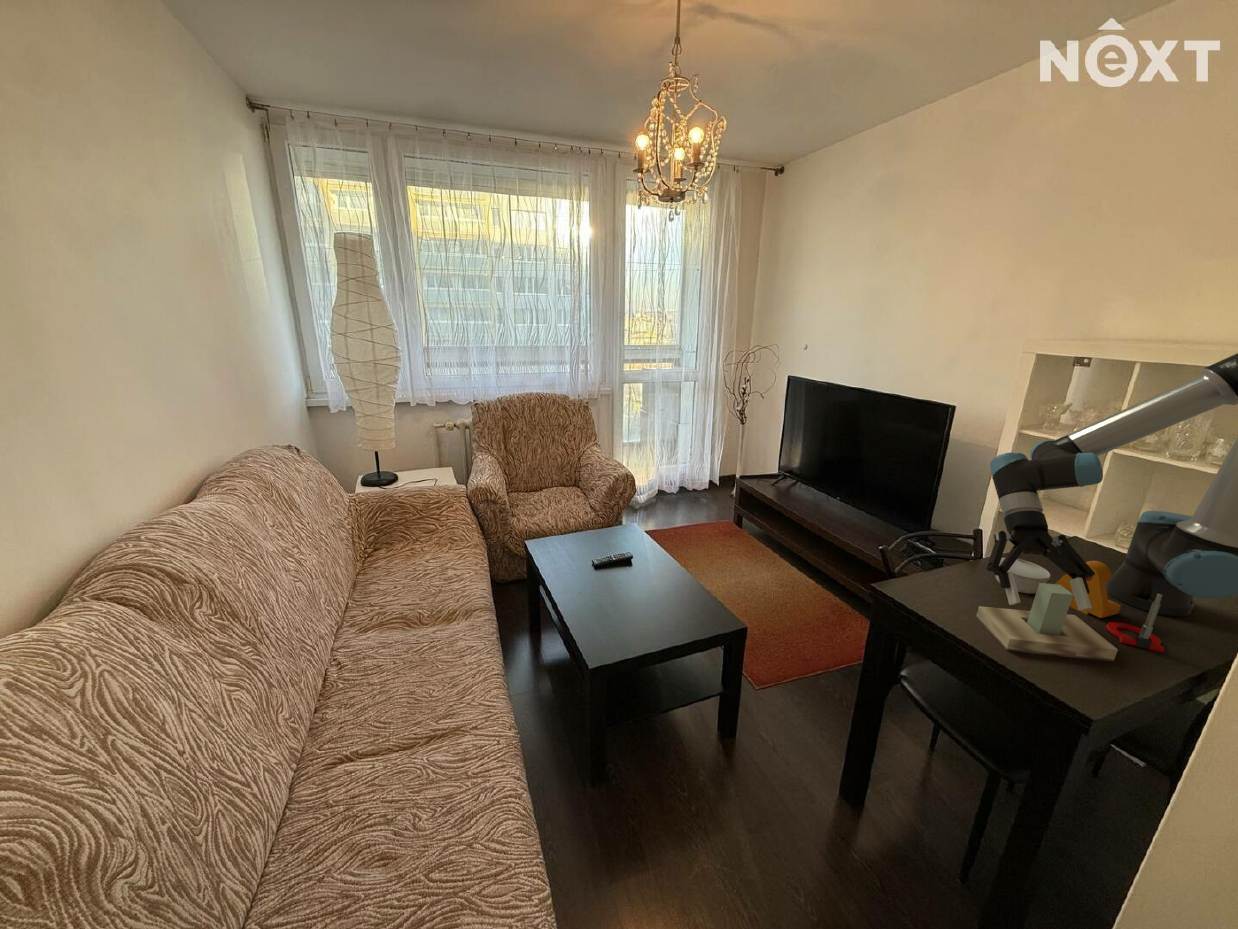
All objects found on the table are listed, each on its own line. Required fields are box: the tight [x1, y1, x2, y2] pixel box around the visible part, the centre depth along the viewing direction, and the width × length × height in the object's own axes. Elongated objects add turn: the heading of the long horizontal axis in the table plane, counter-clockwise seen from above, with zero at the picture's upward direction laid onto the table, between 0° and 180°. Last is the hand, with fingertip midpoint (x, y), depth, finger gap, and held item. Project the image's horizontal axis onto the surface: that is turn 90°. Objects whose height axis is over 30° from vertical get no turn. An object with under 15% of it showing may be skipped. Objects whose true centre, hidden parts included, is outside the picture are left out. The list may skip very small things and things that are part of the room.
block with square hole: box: [975, 605, 1119, 663], centre depth 106 cm, size 20×12×3 cm, turn 81°
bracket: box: [1054, 560, 1122, 619], centre depth 117 cm, size 11×7×12 cm, turn 18°
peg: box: [1027, 582, 1073, 636], centre depth 104 cm, size 4×4×12 cm
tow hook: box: [1105, 593, 1165, 654], centre depth 105 cm, size 8×13×9 cm
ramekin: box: [995, 557, 1052, 595], centre depth 127 cm, size 11×11×5 cm
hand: (1049, 606), depth 104 cm, fingers open, 13 cm apart
